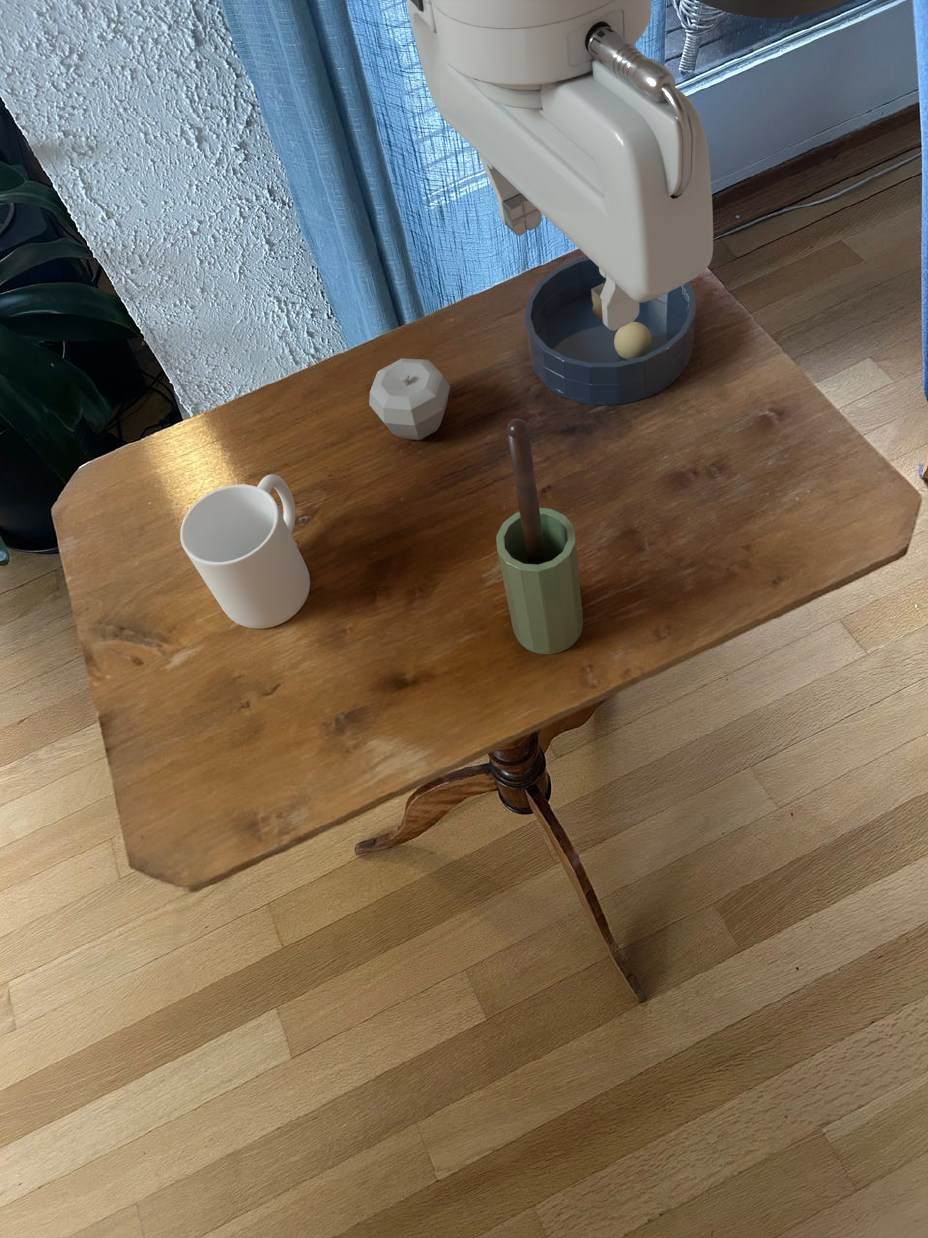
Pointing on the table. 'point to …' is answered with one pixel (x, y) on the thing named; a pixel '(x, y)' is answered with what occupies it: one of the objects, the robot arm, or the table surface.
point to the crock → (542, 584)
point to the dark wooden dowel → (526, 490)
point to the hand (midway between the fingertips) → (566, 269)
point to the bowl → (604, 339)
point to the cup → (248, 552)
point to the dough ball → (632, 340)
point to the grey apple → (410, 398)
